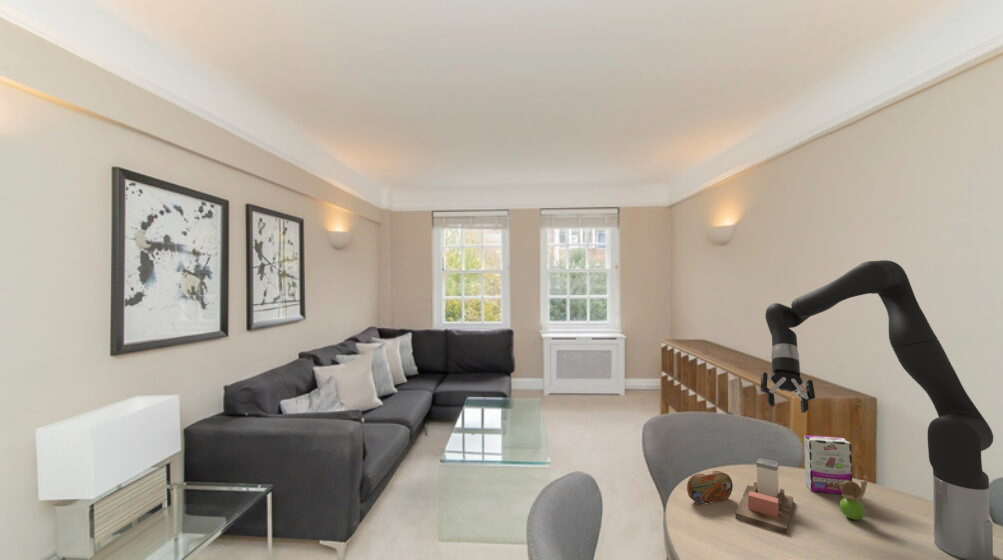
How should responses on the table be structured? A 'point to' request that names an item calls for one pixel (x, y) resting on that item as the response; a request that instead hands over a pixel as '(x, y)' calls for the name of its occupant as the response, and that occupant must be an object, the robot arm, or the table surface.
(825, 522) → the table surface
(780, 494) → the wooden holder base
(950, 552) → the robot arm
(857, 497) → the snail figurine
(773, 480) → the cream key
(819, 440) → the candy bar box
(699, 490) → the tin
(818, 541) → the table surface
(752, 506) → the pad
